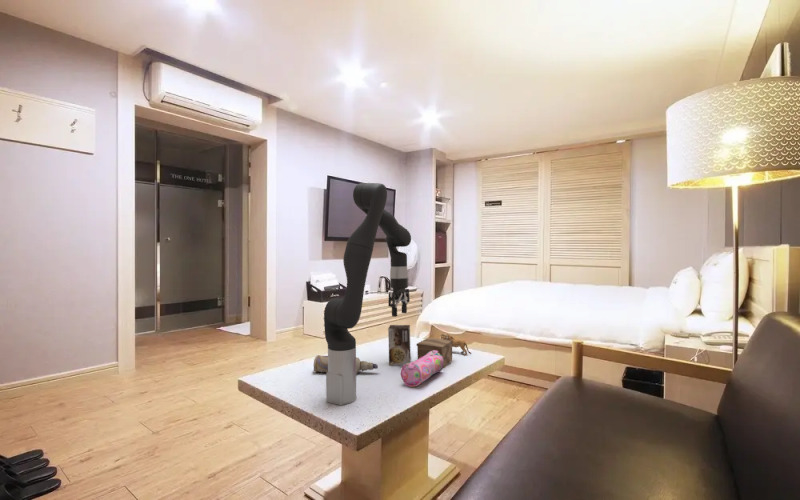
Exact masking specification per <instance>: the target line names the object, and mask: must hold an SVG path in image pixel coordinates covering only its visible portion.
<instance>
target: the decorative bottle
mask: <svg viewBox="0 0 800 500" xmlns="http://www.w3.org/2000/svg"><path fill="white" fill-rule="evenodd" d="M313 360H314V361H313V371H314V372H315V373H327V372H328V355H319V354H318V355H316V356H315V357H314V359H313ZM378 368H379V366H378V364H376V363H374V362H370V361H369V362H368V361H366V360H362V361H361V359H360V358H359V357H357V356H356V375H357V374H360V373H361V372H364V371H373V370H375V369H378Z"/></svg>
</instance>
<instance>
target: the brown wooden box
mask: <svg viewBox="0 0 800 500" xmlns="http://www.w3.org/2000/svg"><path fill="white" fill-rule="evenodd" d="M452 342H453V340H447V339H441V338H439V337H438V338H437V337H432V336H431V337H430V336H429V337H427V338H425V339H423V340H421V341H419V342H417V343H416V347H417V349H416V350H417V360H418V359H419V358H421V357H423V356H425V355H426V354H427V353H428V352H430V351H433V350H435V351H438V353H439V354H440V355H441V356H442V357H443V368H445V367H446V366H447V365H449V364H450V363H451V362H453V347H452Z"/></svg>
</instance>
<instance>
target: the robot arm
mask: <svg viewBox="0 0 800 500" xmlns="http://www.w3.org/2000/svg"><path fill="white" fill-rule="evenodd" d="M352 198H353V202H354V204H355V205H356V206H357V208H358V209H360V210H361V211H362V212H364V214H366V216H365V218H364V219H363V220H362V223H361V224H360V225H359V226H358V227H357V228H356V229H355V230H354V231H353V232H352V233H351V234H350V236H349V238H348V240H346V241H347V242H346V245H345V250H344V252H343V258H342V259H343V268H344V271H345V277H346V288H345V292H344V293H345V294H344V297H343V298H339V297H335V298H331V299H330V300H328V302H326V304H325V307H324V311H323V322H324V323H323V325H324V337H325V338H324V339H325V341H326V343H327V356H328V372H325V377H326V378H325V383H326V385H325V386H326V390H325V391H326V392H325V393H326V394H325V395H326V403H329V404H330V403H331V404H333V405H337V406H343V405H346V404H350V403H353V402H354V401H356V399H357V374H356V357H357V345H356V344H357V340H356V338H355V337H354V335H352V334H351V333H350V332H349V330H348V329H353V328H354V327H355V326H357V324H358V323H359V320H360V318H361V315H362V308H363V301H364V293H365V288H366V287H365V285H366V282H367V277H368V271H369V269H370V268H369V267H370V263H371V260H372V256H373V251H374V248H375V247H374V245H375V241H376V237H377V233H378V229H379V228H380V229H381V231H382V232H383V233H384V234H385V236H386V237H385V240H386V246H387V248H388V251H389V256H390V270H389V271H390V272H389V277H390V278H389V281H390V282H389V283H390V285H389V286H390V289H392V291H389V292H388V303H387V304H388V305H387V306H388V307H390V308H391V316H392V317H398V305H399V304H400V303H401V313H402V314H407V312H408V303H410V289H409V288H408V287H409V275H408V274H409V273H408V270H409V269H408V256H407V253H406V252H403V251H402V252H401V251H399V250H398V247H399V248H400V247H401V248H402V247H408V246H409V245H410V244H411V242H412V235H411V232H410V231H409V230H408V229H407V228H406V227H404V226H403V225H401V224H400V223H399V222H398V221H397V219H396V217H395V216H394V215H393V214H392V213H391V212H389V211H387V210H386V209H385V207H386V204H387V199H388V191H387V187H386V185H384V184H383V183H380V182H379V183H378V182H375V183H374V182H361V183H357V185H355V187H354V188H353V192H352Z"/></svg>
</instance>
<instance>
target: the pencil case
mask: <svg viewBox="0 0 800 500" xmlns="http://www.w3.org/2000/svg"><path fill="white" fill-rule="evenodd" d="M443 368H444V367H443V357H442V356H441V355H440V354H439V353H438V351H435V350H433V351H430V352H428V353H427V354H426V355H425V356H423V357H421V358H419V359H418V358H417V359H416V360H415V361H411V362H410V363H407V364H405V365H403V366H401V370H400V376H401V379H402V382H403V383H404V384H405V385H406V386H407V387H410V388H411V387H413V388H414V387H417V386H420V385H421V384H423V383H424V381H426V380H428V379H429V378H431V376H433V375H434V374H436V373H439V372H441V371H443Z"/></svg>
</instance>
